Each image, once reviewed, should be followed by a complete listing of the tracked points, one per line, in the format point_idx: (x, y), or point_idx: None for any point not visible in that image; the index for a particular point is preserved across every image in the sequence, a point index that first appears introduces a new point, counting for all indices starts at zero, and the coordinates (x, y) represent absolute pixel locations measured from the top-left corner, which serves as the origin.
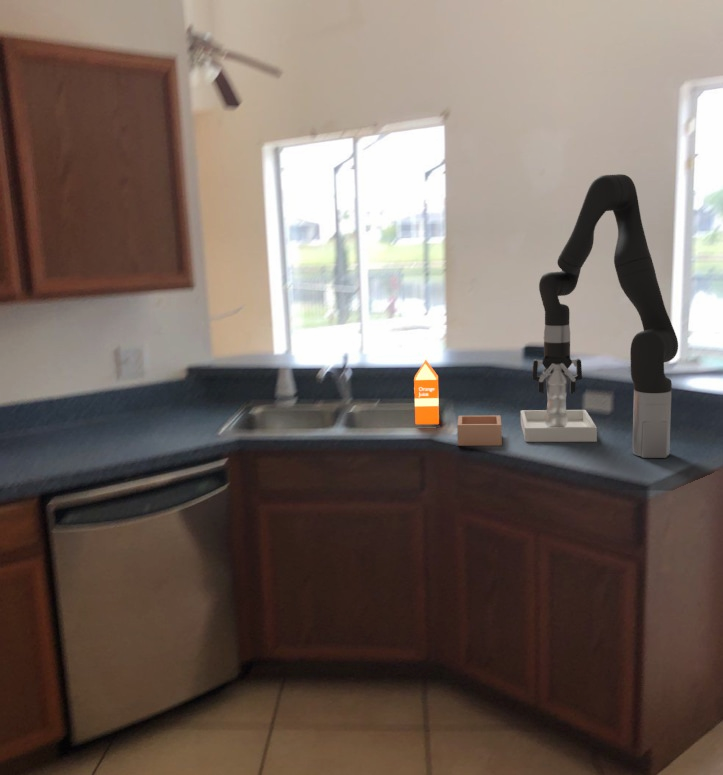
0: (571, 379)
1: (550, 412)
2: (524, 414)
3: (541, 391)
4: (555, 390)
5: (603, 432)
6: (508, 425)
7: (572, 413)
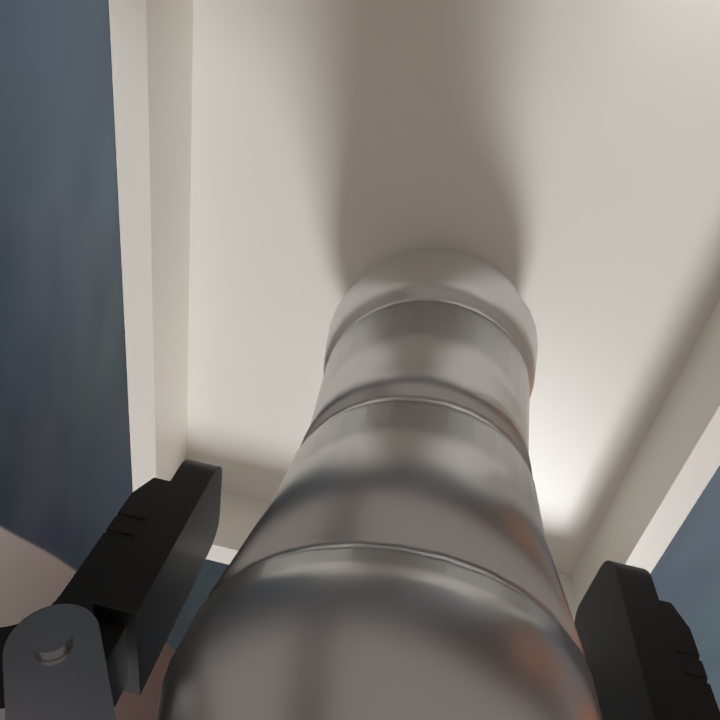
0: (91, 659)
1: (513, 348)
2: (635, 554)
3: (654, 599)
4: (468, 499)
5: (86, 198)
6: (701, 544)
7: (235, 531)
